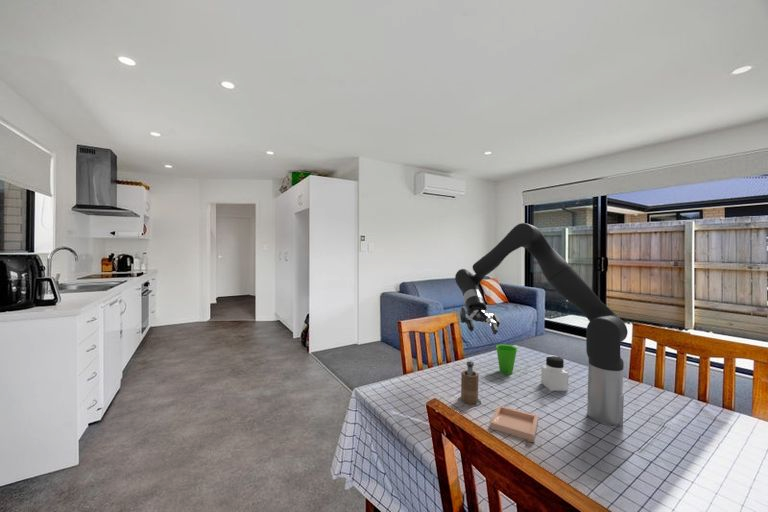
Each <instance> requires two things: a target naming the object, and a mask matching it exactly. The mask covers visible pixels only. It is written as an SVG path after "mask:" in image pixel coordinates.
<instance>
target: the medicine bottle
mask: <svg viewBox="0 0 768 512" xmlns="http://www.w3.org/2000/svg"><path fill="white" fill-rule="evenodd" d="M545 361H546V362H545V365H541V368H540V369H541V372H540V374H541V375H540V379H541V380H540V383H541V384H542V385H543V386H544V387H545V388H546V389H547V390H548V391H550V392H551V391H552V392H553V391H554V392H555V391H558V392H561V391H562V392H568V391H569V372H567V371H566V370H565V369H564V367H565V366H564V359H563V358H562V357H560V356H557V355H547V356H546V358H545Z"/></svg>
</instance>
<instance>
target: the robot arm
mask: <svg viewBox="0 0 768 512" xmlns="http://www.w3.org/2000/svg"><path fill="white" fill-rule="evenodd" d="M519 248H524V249H525V250H526V251H527V252H528V253H529V254H530V255H532V257H533V258H534V259H535V260H536V261H537V263H538V265H539V266H540V270H541V272H542V274H543V275H544V277H545V279H546V280H547V282H548V283H549V284H550V286H551V287H552V288H553V289H554V290H555V291H556V292H557V294H559V295H560V296H561V297H562V298H564V299H565V300H566V301H568V302H569V303H570V304H572V305H573V306H574V307H576V308H577V309H578V310H579V311H580V312H581V313H582V314H583V315H584V316H585V317H586V319H587V320H588V321H589V322H588V324H587V325H586V333H585V334H586V335H585V336H586V337H585V340H586V342H585V344H586V346H585V347H586V355H587V358H588V364H587V365H588V366H587V368H588V369H587V371H588V372H587V400H586V401H587V404H586V405H587V406H586V414H587V416H588V417H589V418H590V419H592V420H593V421H596V422H598V423H601V424H603V425H608V426H619V427H623V426H624V404H625V403H624V401H625V397H624V393H623V392H624V391H623V390H624V368H625V367H624V360H623V359H622V357H621V342H623V341H625V339H626V338H627V336H628V331H629V330H628V328H627V325H626V323H625V322H624V321H623V320H622V318H621V317H619V316H618V315H617V314H616V313H615V312H614V311H612V310H611V308H610V307H609V306H607V305H606V304H605V303H604V302H602V300H601V299H600V298H599V297H598V296H597V294H596V293H595V292H594V291H593V290H592V288H590V287H589V285H588V283H586V281H584V279H583V278H582V277H581V276H580V275H579V273H578V272H577V271H576V270H575V269H574V267H572V265H570V264H569V263H568V262H567V261H566V259H564V258H563V257H562V256H561V255H560V254H559V253H558V252H557V251H556V250H555V249H554V248H553V247H552V245H550V243H549V242H548V240H547V239H546V237H545V236H544V235H543V232H542V231H541V230H540V229H539V228H538V227H536V226H534V225H532V224H530V223H525V222H522V223H518V224H517V225H515V226H514V227H513V228H512V229H511V230H509V232H508V233H507V234H506V235H505V236H504V238H503V239H502V240H501V241H499V242H498V244H496V246H494V247H493V248H492V249H491V250H490V251H488V253H486V254H484V256H483V257H481V258H480V259H478V260H477V261H475V262H474V263H473V265H472V271H473V272H474V273H475V274H474V273H472V272H471V271H469V270H467V269H465V268H461V269H459V270H458V271H456V273H455V276H454V280H455V282H456V285H457V287H458V288H459V290H460V291H461V292H462V296H463V301H464V305H465V307H461V308H460V310H459V311H460V312H459V316H460V322H461V323H463V324H465V325H467V326H466V327H467V329H468V330H469V331H470V332H474V329H475V326H474V323H473V321H475V322H480V323H484V324H485V325H487V326H490V329H491V332H492V334H493V335H497V333H498V332H499V327H500V324H501V319H500V317H499V315H498V313H497V312H496V311H493V312H492V313H490V312H489V311H488V309H487V306H486V305H487V304H486V303H485V299H484V298H483V295H482V294H481V291H480V289H479V285H480V284H481V282H482V281H483V279H485V278H486V276H487V275H489V274H490V273H491V272H493V271H494V270H496V269H497V268H498V267H499V266H500V265H501V264H502V263H503V261H504V260H505V259H506V257H507V256H509V255H510V254H511V253H513V252H514V251H516V250H518V249H519ZM465 308H466V309H465ZM466 315H467V316H468V317H466Z"/></svg>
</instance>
